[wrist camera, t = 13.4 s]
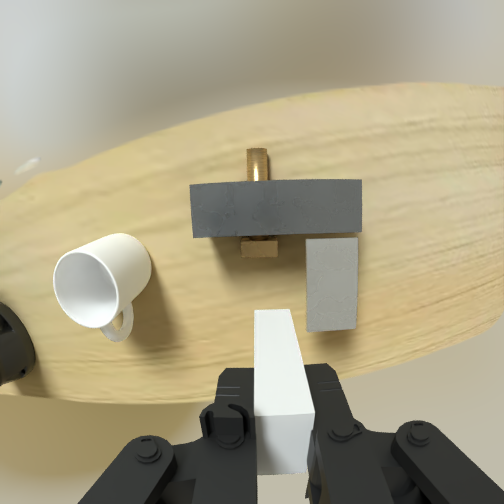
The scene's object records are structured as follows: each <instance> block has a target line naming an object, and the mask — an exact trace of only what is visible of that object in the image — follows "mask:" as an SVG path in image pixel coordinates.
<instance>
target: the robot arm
mask: <svg viewBox="0 0 504 504" xmlns="http://www.w3.org/2000/svg"><path fill="white" fill-rule="evenodd" d="M34 364H35V354H34V349H33V345H32V342H31V340H30V337H29V335H28V333H27V331H26V329H25V327H24V326H23V324H22V323H21V321H20V320H19V318H18V317H17V316H16V315H15V313H14V312H13V311H12V310H11V309H10V308H8V307H7V306H6V305H4V304H3V303H1V302H0V386H1V385H3V384H6V383H9V382H12V381H15V380H18V379H21V378H23V377H25V376H26V375H27V374H28V373H29V372H30V371H31V370H32V369H33V367H34ZM199 418H200V423H201V428H202V433H203V437H201V438H200V439H198V440H196V441H194V442H190V443H186V444H179V445H171V444H170V443H169V442H168V441H167V440H165V439H163V438H161V437H158V436H151V435H149V436H140V437H138V438H135V439H133V440H132V441H131V442H129V443H128V444H127V445H126V446H125V447H124V448H123V450H122V451H121V452H120V453H119V454H118V456H117V457H116V458H115V459H114V461H113V462H112V463H111V464H110V466H109V467H108V468H107V469H106V470H105V471H104V473H103V474H102V475H101V476H100V477H99V479H98V480H97V481H96V482H95V484H94V485H93V486H92V487H91V488H90V490H89V491H88V492H87V493H86V494H85V495H84V497H83V498H82V499H81V500H80V501H79V502H78V504H257V475H276V474H277V475H278V474H294V473H306V470H307V466H308V472H309V480H308V485H307V489H306V495H305V498H309V500H310V504H504V491H503V490H502V489H501V488H500V487H499V486H498V485H497V484H496V483H495V482H494V481H493V480H491V479H490V478H489V477H488V476H487V475H486V474H485V473H484V472H483V471H482V470H481V469H480V468H479V467H478V466H477V465H476V464H475V463H474V462H473V461H471V460H470V459H469V458H468V457H467V456H466V455H465V454H464V453H463V452H462V451H461V450H460V449H459V448H458V447H457V446H456V445H455V444H454V443H453V442H452V441H450V440H449V439H448V438H447V437H446V436H445V435H444V434H443V433H442V432H441V431H440V430H439V429H438V428H437V427H435V426H434V425H432V424H431V423H428V422H425V421H410V422H406V423H404V424H403V425H402V426H400V427H399V429H398V430H397V432H396V433H384V432H383V433H382V432H374V431H370V430H367V429H366V428H365V427H364V426H363V424H362V423H361V422H359V421H357V420H356V419H354V418H353V416H352V413H351V410H350V408H349V405H348V403H347V400H346V397H345V394H344V392H343V390H342V387H341V384H340V382H339V379H338V376H337V374H336V371H335V370H334V369H333V368H331V367H330V366H329V365H328V364H327V363H324V364H311V365H303V361H302V357H301V353H300V349H299V345H298V341H297V337H296V333H295V329H294V325H293V321H292V317H291V313H290V309H276V310H255V321H254V368H226V369H225V370H224V371H223V372H222V373H221V375H220V376H219V379H218V384H217V390H216V396H215V402H214V403H213V404H210V405H209V406H207V407H206V408H205V409H203V410H202V412H201V414H200V416H199Z"/></svg>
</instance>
